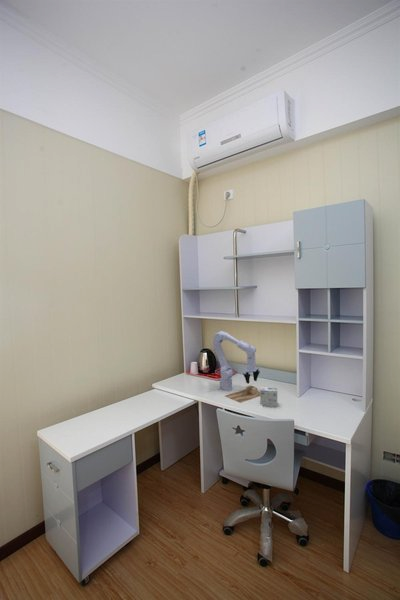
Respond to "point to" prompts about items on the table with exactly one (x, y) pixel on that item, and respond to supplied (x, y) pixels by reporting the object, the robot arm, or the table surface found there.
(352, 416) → the table surface
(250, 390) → the block
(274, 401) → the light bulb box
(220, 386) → the robot arm
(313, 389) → the table surface
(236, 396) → the board
